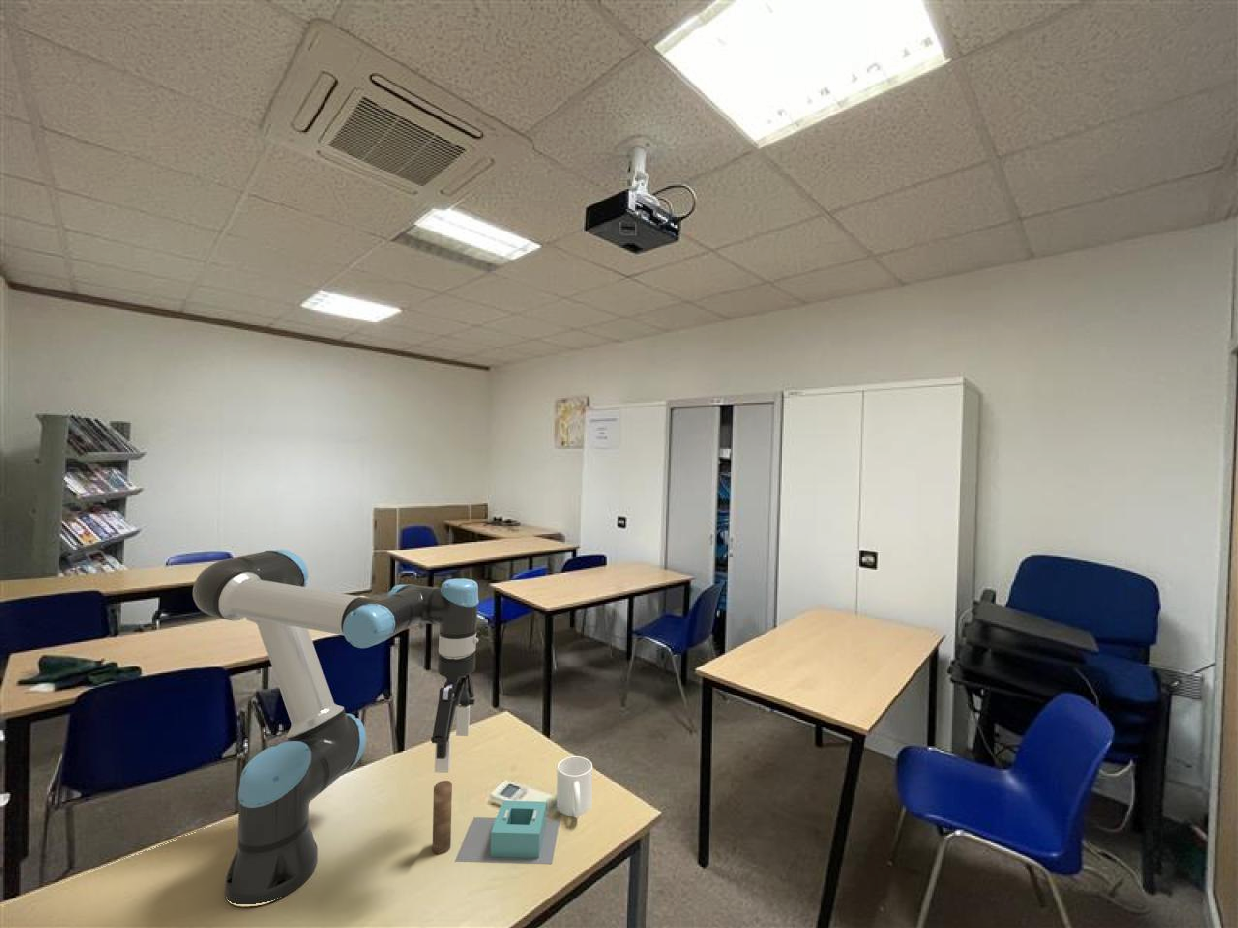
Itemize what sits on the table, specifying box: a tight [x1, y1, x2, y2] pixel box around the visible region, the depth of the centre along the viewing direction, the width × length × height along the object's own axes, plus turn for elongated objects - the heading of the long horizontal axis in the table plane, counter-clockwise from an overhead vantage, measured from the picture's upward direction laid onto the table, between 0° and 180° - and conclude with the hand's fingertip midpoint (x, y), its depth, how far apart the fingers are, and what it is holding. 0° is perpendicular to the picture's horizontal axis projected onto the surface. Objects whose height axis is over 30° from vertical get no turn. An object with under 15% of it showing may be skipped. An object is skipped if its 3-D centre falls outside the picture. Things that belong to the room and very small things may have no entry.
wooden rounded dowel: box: [431, 780, 453, 856], centre depth 106 cm, size 4×4×14 cm
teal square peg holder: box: [491, 799, 548, 858], centre depth 109 cm, size 10×10×6 cm
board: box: [454, 816, 561, 865], centre depth 109 cm, size 20×13×1 cm, turn 89°
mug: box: [556, 755, 593, 819], centre depth 119 cm, size 12×8×10 cm
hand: (452, 752), depth 107 cm, fingers open, 13 cm apart
